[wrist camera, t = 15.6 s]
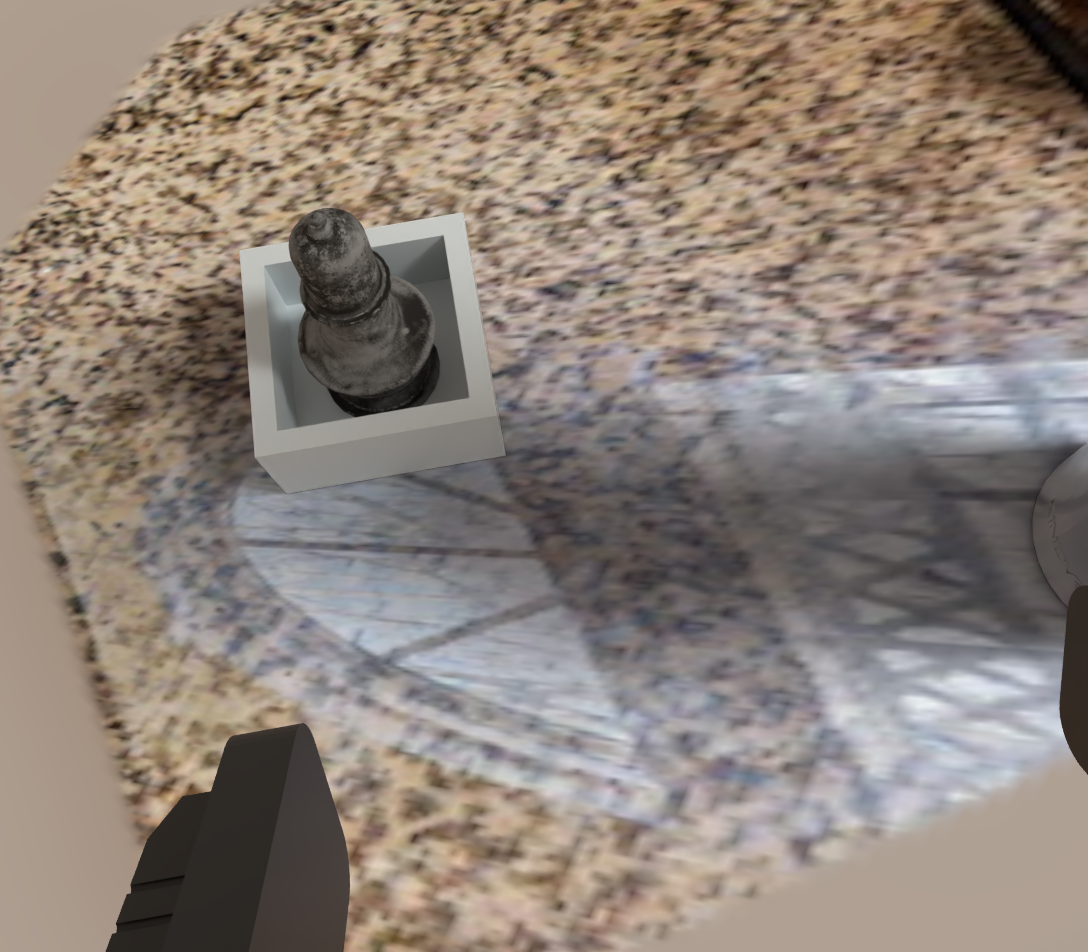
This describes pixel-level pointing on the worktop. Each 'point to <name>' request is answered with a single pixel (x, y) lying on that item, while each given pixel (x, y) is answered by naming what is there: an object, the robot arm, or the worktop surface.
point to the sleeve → (386, 438)
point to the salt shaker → (360, 319)
